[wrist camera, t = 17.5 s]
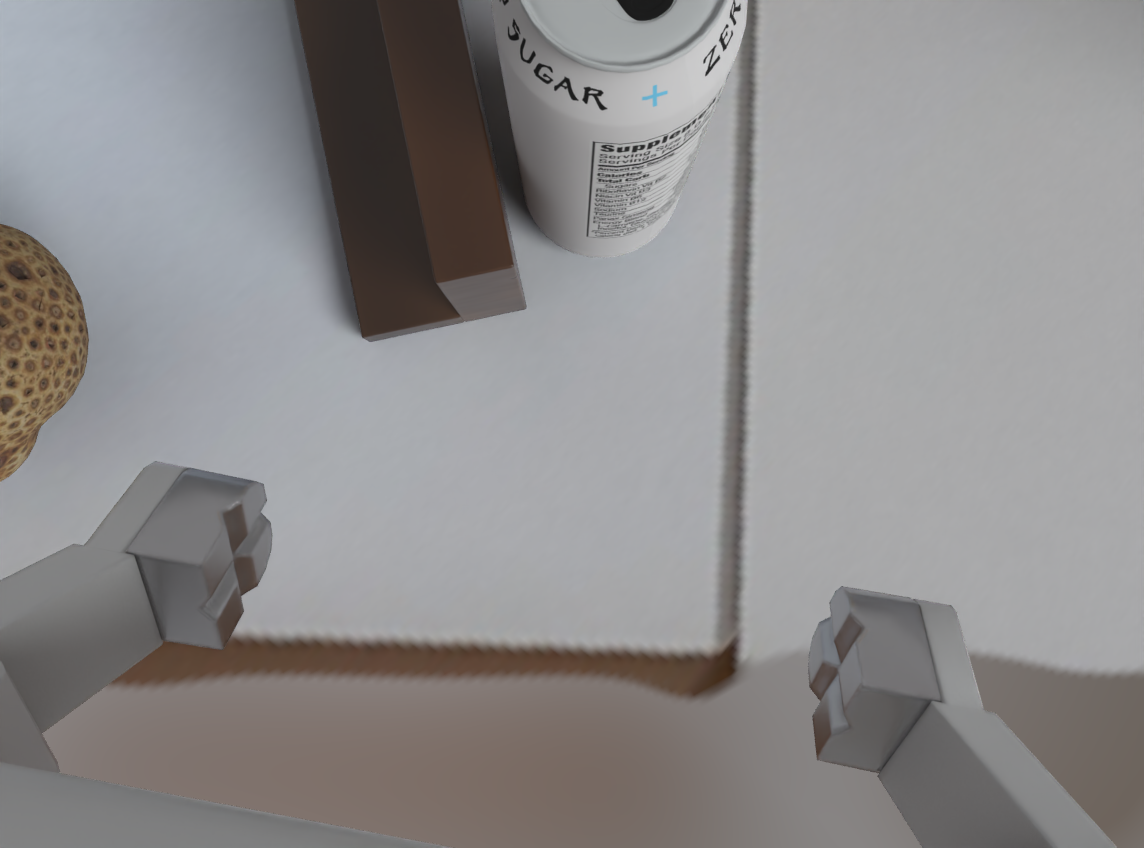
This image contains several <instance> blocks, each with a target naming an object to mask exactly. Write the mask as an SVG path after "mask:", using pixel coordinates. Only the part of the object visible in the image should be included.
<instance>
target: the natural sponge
mask: <svg viewBox="0 0 1144 848" xmlns="http://www.w3.org/2000/svg"><path fill="white" fill-rule="evenodd" d="M88 342H89V338H88V329H87V324H86V319H85V314H84V309H83V304H82V300H81V297H80V295H79V293H78V291H77V289H76V287H75V285H74V284H73V282H72V280H71V278H70V276H69V274H68V273H67V271H66V270H65V269H64V268H63V266H62V265H61V264H60V262H59V261H58V260H57V259H56V258H55V257H54V256H53V255H52V254H51V253H50V252H49V251H48V250H47V249H46V248H45V247H44V246H43V245H41V244H40V243H39V242H38V241H37V240H35V239H34V238H32V237H31V236H29V235H28V234H26V233H24V232H22V231H20V230H18V229H15V228H13V227H10V226H6V225H3V224H0V482H1V481H2V480H4V479H6V478H7V477H9V476H10V475H11V474H13V473H14V472H15V471H16V470H17V469H18V468H19V467H20V466H21V465H22V463H23V462H24V461H25V460H26V459H27V458H28V456H29V454H30V452H31V450H32V448H33V446H34V444H35V442H36V439H37V436H38V432H39V430H40V428H41V426H42V425H43V424H44V423H45V422H46V421H47V420H48V419H49V418H50V417H51V416H52V415H54V414H55V413H56V412H57V411H58V410H60V409H61V408H62V407H63V406H64V405H65V404H66V402H67V401H68V400H69V399H70V397H71V396H72V395H73V394H74V392H75V390H76V388H77V386H78V384H79V382H80V380H81V378H82V377H83V375H84V371H85V367H86V362H87V355H88Z"/></svg>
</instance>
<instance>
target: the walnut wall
mask: <svg viewBox="0 0 1144 848" xmlns="http://www.w3.org/2000/svg"><path fill="white" fill-rule="evenodd" d="M294 3H295V8H296V13H297V18H298V23H299V28H300V33H301V38H302V43H303V48H304V53H305V57H306V62H307V67H308V72H309V77H310V82H311V87H312V92H313V97H314V102H315V107H316V112H317V117H318V122H319V127H320V132H321V137H322V141H323V146H324V151H325V156H326V161H327V166H328V171H329V176H330V181H331V186H332V191H333V196H334V201H335V206H336V211H337V216H338V221H339V226H340V230H341V235H342V240H343V245H344V250H345V255H346V260H347V265H348V270H349V275H350V280H351V285H352V290H353V295H354V300H355V305H356V310H357V315H358V319H359V324H360V329H361V334H362V337H363V338H365V339H366V340H368V341H369V342H373V341H377V340H382V339H387V338H391V337H396V336H401V335H406V334H410V333H415V332H420V331H425V330H429V329H434V328H439V327H443V326H448V325H453V324H458V323H462V322H464V321H465V322H467V321H472V320H476V319H481V318H486V317H490V316H495V315H500V314H505V313H509V312H514V311H519V310H524V309H526V302H525V298H524V293H523V288H522V284H521V279H520V274H519V270H518V265H517V260H516V255H515V251H514V246H513V241H512V237H511V232H510V227H509V223H508V218H507V213H506V208H505V204H504V199H503V194H502V190H501V185H500V180H499V176H498V171H497V166H496V161H495V157H494V152H493V147H492V143H491V138H490V133H489V128H488V124H487V119H486V114H485V110H484V105H483V100H482V96H481V91H480V86H479V81H478V77H477V72H476V67H475V63H474V58H473V53H472V49H471V44H470V39H469V34H468V30H467V25H466V20H465V16H464V11H463V6H462V2H461V0H294Z"/></svg>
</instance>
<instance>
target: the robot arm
mask: <svg viewBox="0 0 1144 848" xmlns="http://www.w3.org/2000/svg"><path fill="white" fill-rule="evenodd" d="M266 502H267V498H266V494H265V489H264V484H262V483H259V482H257V481H252V480H247V479H242V478H237V477H233V476H228V475H223V474H218V473H213V472H208V471H204V470H199V469H194V468H187V467H182V466H177V465H172V464H167V463H162V462H157V461H155V462H153V463H151V464H150V465H148V466H146V467H145V468H144V469H143V470H142V471H141V472H140V474H139V475H138V476H137V478H136V479H135V480H134V482H133V483H132V484H131V485H130V487H129V488H128V489H127V491H126V492H125V493H124V494H123V496H122V497H121V498H120V500H119V501H118V502H117V504H116V505H115V506H114V507H113V509H112V510H111V511H110V513H109V514H108V515H107V516H106V518H105V519H104V520H103V522H102V523H101V524H100V526H99V527H98V528H97V529H96V531H95V532H94V533H93V535H92V536H91V537H90V539H89V540H88V541H87V542H86V544H85V545H78V544H72V545H70V546H68V547H66V548H64V549H62V550H60V551H58V552H56V553H54V554H52V555H50V556H48V557H46V558H44V559H42V560H40V561H38V562H36V563H34V564H32V565H30V566H28V567H26V568H24V569H22V570H20V571H18V572H16V573H14V574H12V575H10V576H8V577H6V578H4V579H2V580H0V848H454V847H448V846H443V845H438V844H432V843H427V842H422V841H417V840H411V839H406V838H400V837H395V836H390V835H385V834H380V833H374V832H369V831H364V830H358V829H353V828H347V827H342V826H337V825H332V824H326V823H321V822H316V821H311V820H306V819H300V818H295V817H290V816H284V815H279V814H274V813H269V812H263V811H258V810H253V809H247V808H242V807H237V806H232V805H226V804H221V803H216V802H210V801H205V800H200V799H194V798H189V797H184V796H179V795H173V794H168V793H163V792H157V791H152V790H147V789H142V788H136V787H131V786H126V785H120V784H115V783H109V782H105V781H99V780H94V779H89V778H83V777H78V776H72V775H67V774H62V773H59V772H60V770H59V766H58V762H57V760H56V758H55V756H54V755H53V753H52V751H51V750H50V747H49V746H48V744H47V742H46V740H45V738H44V737H43V735H42V733H43V732H45V731H46V730H47V729H49V728H50V727H51V726H53V725H54V724H55V723H57V722H58V721H59V720H61V719H62V718H64V717H65V716H66V715H68V714H69V713H70V712H72V711H73V710H74V709H76V708H77V707H78V706H80V705H81V704H82V703H84V702H85V701H86V700H88V699H89V698H90V697H92V696H93V695H94V694H96V693H97V692H99V691H100V690H101V689H103V688H104V687H105V686H107V685H108V684H110V683H111V682H112V681H114V680H115V679H116V678H118V677H119V676H120V675H122V674H123V673H124V672H126V671H127V670H128V669H130V668H131V667H132V666H134V665H135V664H137V663H138V662H139V661H141V660H142V659H143V658H145V657H146V656H147V655H149V654H150V653H151V652H153V651H154V650H155V649H157V648H158V647H159V646H161V645H162V644H163V642H162V640H163V641H169V642H175V643H182V644H188V645H194V646H201V647H207V648H213V649H220V650H223V649H224V647H225V646H226V644H227V642H228V640H229V638H230V636H231V634H232V633H233V631H234V629H235V627H236V625H237V623H238V621H239V620H240V618H241V616H242V614H243V612H244V609H243V604H242V599H241V596H242V595H243V594H245V593H246V592H248V591H250V590H251V589H253V588H255V587H256V586H258V584H259V582H260V580H261V578H262V576H263V574H264V572H265V570H266V567H267V563H268V560H269V556H270V553H271V547H272V529H271V522H270V521H269V520H268V519H267V518H266V517H265V516H264V515H263V514H262V513H261V510H262V509H263V507H264V505H265V503H266ZM829 603H830V611H831V617H829V618H827V619H825V620H823V621H821V622H819V624H818V626H817V629H816V631H815V633H814V635H813V637H812V642H811V647H810V652H809V663H808V674H809V686H810V688H811V690H812V691H813V692H814V694H815V695H816V696H817V697H818V699H819V700H820V703H819V705H818V707H817V709H816V710H815V712H814V714H813V716H812V717H813V726H814V736H815V746H816V755H817V760H820V761H824V762H829V763H834V764H838V765H843V766H848V767H852V768H857V769H862V770H866V771H871V772H876V773H879V775H878V778H879V779H880V781H881V782H882V784H883V786H884V787H885V789H886V790H887V792H888V793H889V795H890V797H891V798H892V800H893V802H894V803H895V805H896V806H897V808H898V809H899V811H900V813H901V814H902V816H903V817H904V819H905V821H906V822H907V824H908V825H909V827H910V829H911V830H912V832H913V833H914V835H915V837H916V838H917V840H918V841H919V843H920V845H921V846H922V848H1117V846H1116V845H1115V844H1114V843H1113V842H1112V841H1111V840H1110V839H1109V838H1108V837H1107V835H1105V833H1104V832H1103V831H1102V830H1101V829H1100V828H1099V827H1098V826H1097V824H1096V823H1095V822H1094V821H1093V820H1092V819H1091V818H1090V817H1089V816H1088V814H1087V813H1086V812H1085V811H1084V810H1083V809H1082V808H1081V807H1080V806H1079V805H1078V804H1077V802H1076V801H1075V800H1074V799H1073V798H1072V797H1071V796H1070V795H1069V794H1068V793H1067V791H1066V790H1065V789H1064V788H1063V787H1062V786H1061V785H1060V784H1059V783H1058V781H1057V780H1056V779H1055V778H1054V777H1053V776H1052V775H1051V774H1050V773H1049V771H1048V770H1047V769H1046V768H1045V767H1044V766H1043V765H1042V764H1041V763H1040V762H1039V761H1038V759H1037V758H1036V757H1035V756H1034V755H1033V754H1032V753H1031V752H1030V751H1029V749H1028V748H1027V747H1026V746H1025V745H1024V744H1023V743H1022V742H1021V741H1020V740H1019V739H1018V737H1017V736H1016V735H1015V734H1014V733H1013V732H1012V731H1011V730H1010V729H1009V727H1008V726H1007V725H1006V724H1005V723H1004V722H1003V721H1002V720H1001V719H1000V718H999V716H998V715H996V713H994V712H989V711H985V710H984V708H983V704H982V701H981V698H980V694H979V690H978V687H977V683H976V679H975V676H974V672H973V669H972V665H971V662H970V658H969V654H968V651H967V647H966V644H965V640H964V637H963V633H962V630H961V626H960V622H959V619H958V615H957V612H956V611H955V610H954V608H953V607H952V606H951V605H946V604H940V603H935V602H929V601H923V600H918V599H911V598H909V597H903V596H897V595H891V594H885V593H879V592H873V591H867V590H861V589H855V588H849V587H843V586H841V587H840V588H839V589H838V590H836V591H835V593H834V595H833V597H832V599H831V601H830V602H829Z"/></svg>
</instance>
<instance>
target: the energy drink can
mask: <svg viewBox="0 0 1144 848" xmlns="http://www.w3.org/2000/svg"><path fill="white" fill-rule="evenodd" d="M747 2H748V0H492V14H493V22H494V30H495V36H496V42H497V47H498V53H499V59H500V64H501V70H502V75H503V81H504V87H505V92H506V98H507V103H508V109H509V115H510V120H511V126H512V131H513V137H514V143H515V148H516V154H517V160H518V165H519V171H520V176H521V182H522V188H523V193H524V198H525V201H526V204H527V207H528V210H529V212H530V214H531V216H532V217H533V219H534V221H535V223H536V224H537V226H538V227H539V228H540V229H541V230H542V231H543V233H544V234H545V235H546V236H547V237H548V238H550V239H551V240H552V241H554V242H555V243H556V244H557V245H559V246H561V247H563V248H565V249H567V250H569V251H571V252H573V253H576V254H580V255H583V256H587V257H597V258H607V257H616V256H621V255H624V254H627V253H630V252H633V251H635V250H637V249H639V248H640V247H642V246H644V245H646V244H648V243H649V242H650V241H651V240H652V239H653V238H655V237H656V236H657V235H658V234H659V233H660V232H661V231H662V229H663V228H664V227H665V226H666V224H667V223H668V222H669V220H670V218H671V216H672V214H673V212H674V210H675V208H676V205H677V203H678V200H679V198H680V195H681V193H682V190H683V188H684V185H685V183H686V180H687V178H688V175H689V173H690V170H691V168H692V165H693V163H694V160H695V158H696V155H697V153H698V150H699V148H700V145H701V143H702V140H703V138H704V135H705V133H706V130H707V128H708V125H709V123H710V120H711V118H712V115H713V113H714V110H715V108H716V105H717V103H718V100H719V98H720V95H721V93H722V90H723V88H724V85H725V83H726V80H727V78H728V75H729V73H730V70H731V68H732V65H733V63H734V60H735V58H736V55H737V53H738V50H739V48H740V44H741V41H742V37H743V33H744V30H745V26H746V16H747Z"/></svg>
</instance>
